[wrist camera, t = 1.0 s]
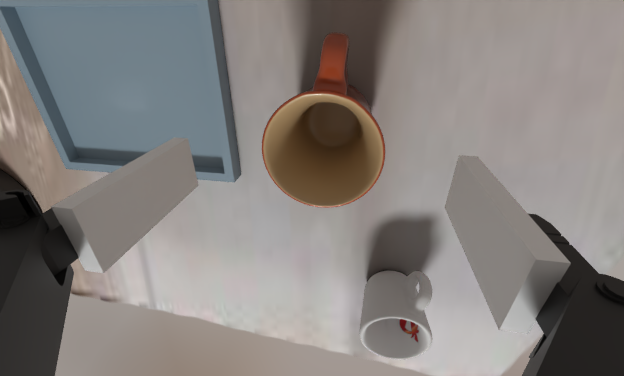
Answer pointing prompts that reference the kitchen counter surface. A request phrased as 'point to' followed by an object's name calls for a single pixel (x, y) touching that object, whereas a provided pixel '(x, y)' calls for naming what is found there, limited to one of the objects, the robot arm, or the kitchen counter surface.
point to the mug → (325, 137)
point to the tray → (127, 79)
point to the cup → (396, 315)
